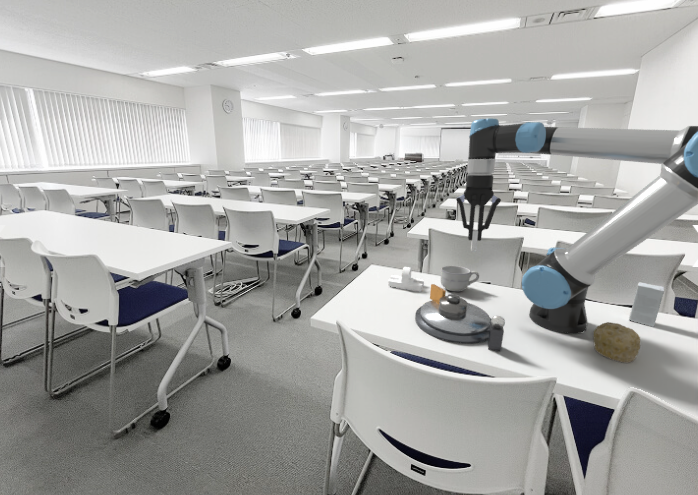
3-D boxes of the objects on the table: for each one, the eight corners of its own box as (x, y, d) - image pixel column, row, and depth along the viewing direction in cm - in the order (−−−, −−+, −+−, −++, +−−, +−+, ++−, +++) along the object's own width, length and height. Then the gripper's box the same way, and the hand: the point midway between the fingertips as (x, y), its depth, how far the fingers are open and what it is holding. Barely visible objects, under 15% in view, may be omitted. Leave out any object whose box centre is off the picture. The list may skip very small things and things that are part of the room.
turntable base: (492, 312, 107) (492, 309, 106) (496, 351, 86) (497, 346, 85) (421, 301, 114) (421, 297, 114) (408, 333, 93) (409, 329, 93)
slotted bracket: (387, 287, 127) (388, 268, 124) (391, 281, 133) (392, 262, 131) (421, 292, 122) (423, 272, 120) (423, 285, 129) (425, 266, 127)
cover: (453, 305, 104) (455, 289, 102) (471, 317, 97) (474, 299, 95) (432, 310, 101) (434, 293, 99) (450, 322, 94) (452, 304, 92)
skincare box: (654, 322, 102) (664, 286, 99) (653, 327, 99) (664, 291, 96) (629, 316, 106) (638, 281, 103) (627, 320, 103) (637, 285, 100)
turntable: (454, 298, 114) (456, 280, 112) (504, 327, 95) (508, 306, 93) (405, 307, 106) (406, 288, 104) (449, 341, 87) (451, 319, 85)
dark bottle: (500, 345, 88) (505, 315, 86) (500, 351, 85) (506, 320, 83) (487, 343, 89) (491, 312, 87) (487, 349, 86) (492, 318, 84)
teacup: (437, 291, 123) (439, 271, 121) (441, 281, 133) (442, 262, 130) (476, 297, 118) (479, 277, 116) (477, 286, 128) (480, 267, 125)
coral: (645, 360, 83) (653, 333, 81) (618, 366, 80) (626, 339, 78) (608, 341, 91) (614, 316, 89) (583, 346, 89) (589, 320, 87)
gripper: (502, 173, 100) (494, 248, 105) (457, 174, 103) (452, 246, 109) (505, 174, 93) (497, 254, 99) (457, 174, 96) (452, 252, 102)
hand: (473, 250), depth 104 cm, fingers closed
